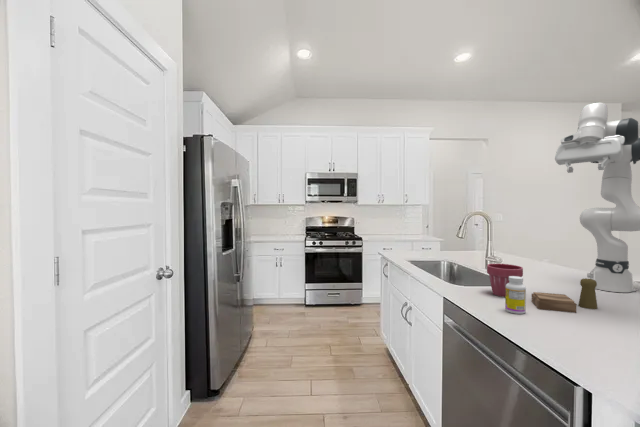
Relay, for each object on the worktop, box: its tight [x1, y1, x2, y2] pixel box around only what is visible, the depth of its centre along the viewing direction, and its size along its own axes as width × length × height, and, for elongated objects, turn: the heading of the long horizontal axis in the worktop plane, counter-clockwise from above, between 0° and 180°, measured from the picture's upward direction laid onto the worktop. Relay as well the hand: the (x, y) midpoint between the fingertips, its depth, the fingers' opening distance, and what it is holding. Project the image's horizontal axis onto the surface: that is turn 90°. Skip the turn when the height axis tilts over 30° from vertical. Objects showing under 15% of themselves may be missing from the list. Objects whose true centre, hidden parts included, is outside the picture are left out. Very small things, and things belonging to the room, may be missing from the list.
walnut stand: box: [531, 291, 578, 314], centre depth 136 cm, size 12×12×4 cm
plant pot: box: [486, 263, 524, 298], centre depth 154 cm, size 14×14×13 cm
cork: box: [577, 277, 598, 310], centre depth 136 cm, size 6×6×11 cm
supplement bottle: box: [504, 276, 527, 315], centre depth 128 cm, size 7×7×13 cm
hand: (584, 170), depth 128 cm, fingers open, 8 cm apart
